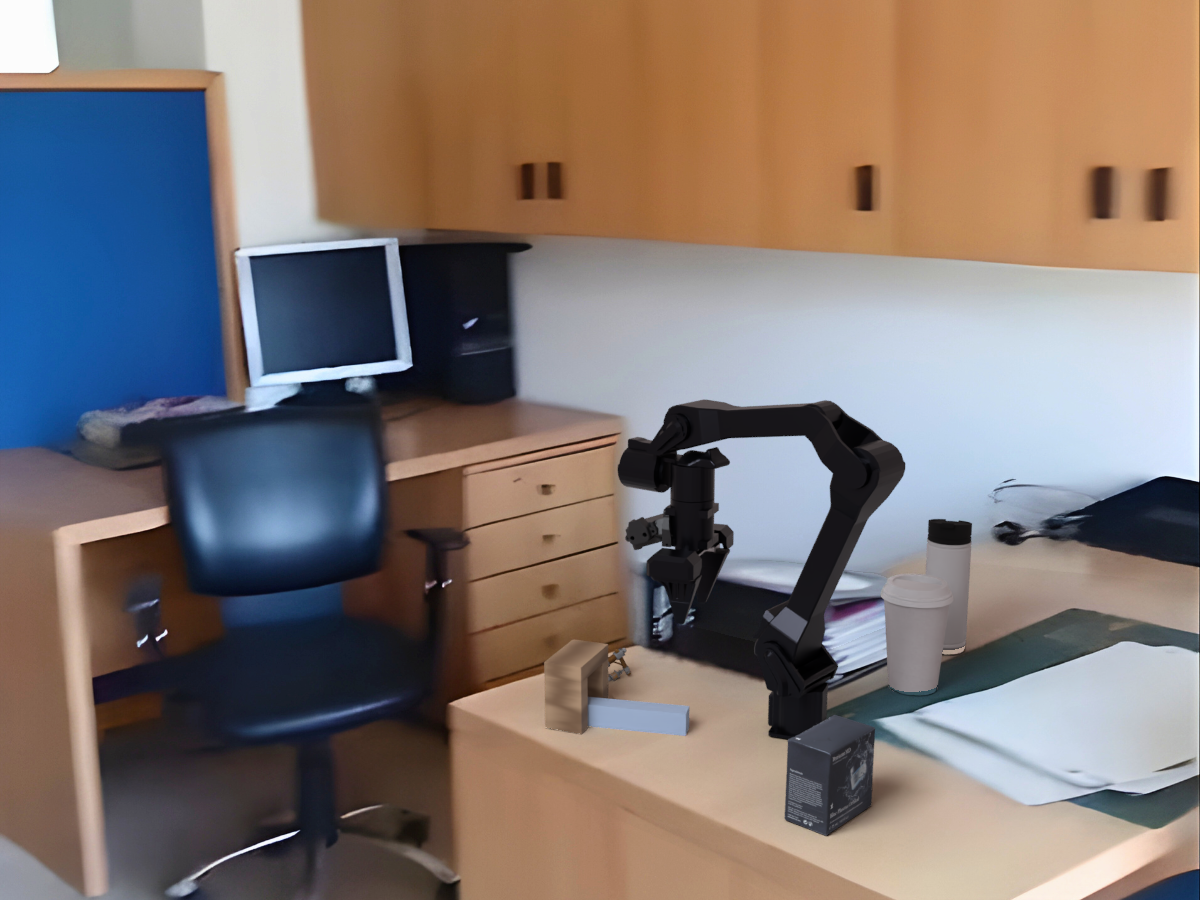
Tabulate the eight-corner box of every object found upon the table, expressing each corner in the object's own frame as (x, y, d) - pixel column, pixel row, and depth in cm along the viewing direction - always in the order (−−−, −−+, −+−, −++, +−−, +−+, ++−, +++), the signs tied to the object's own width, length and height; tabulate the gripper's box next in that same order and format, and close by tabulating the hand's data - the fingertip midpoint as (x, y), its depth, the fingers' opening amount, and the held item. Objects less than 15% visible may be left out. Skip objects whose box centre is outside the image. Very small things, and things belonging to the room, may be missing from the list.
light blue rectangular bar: (689, 729, 157) (689, 706, 157) (685, 738, 155) (685, 713, 154) (567, 718, 161) (566, 694, 160) (561, 726, 159) (561, 702, 158)
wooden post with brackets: (638, 672, 174) (626, 646, 172) (591, 703, 171) (578, 676, 170) (632, 668, 175) (621, 642, 174) (585, 698, 173) (573, 672, 171)
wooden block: (608, 707, 163) (608, 644, 162) (581, 734, 155) (581, 667, 154) (573, 702, 165) (572, 639, 164) (545, 728, 157) (544, 662, 155)
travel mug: (918, 653, 183) (925, 521, 179) (925, 639, 189) (931, 511, 185) (962, 658, 180) (970, 525, 177) (967, 644, 186) (974, 514, 183)
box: (827, 838, 130) (830, 753, 128) (782, 821, 133) (785, 738, 131) (873, 807, 136) (877, 726, 134) (830, 791, 140) (832, 712, 138)
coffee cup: (963, 689, 169) (969, 583, 166) (919, 706, 163) (924, 597, 160) (905, 669, 177) (910, 567, 174) (862, 685, 171) (866, 580, 168)
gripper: (658, 478, 173) (657, 586, 176) (607, 508, 156) (608, 627, 159) (735, 484, 168) (733, 595, 171) (692, 516, 151) (691, 638, 154)
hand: (691, 612), depth 164 cm, fingers open, 9 cm apart
